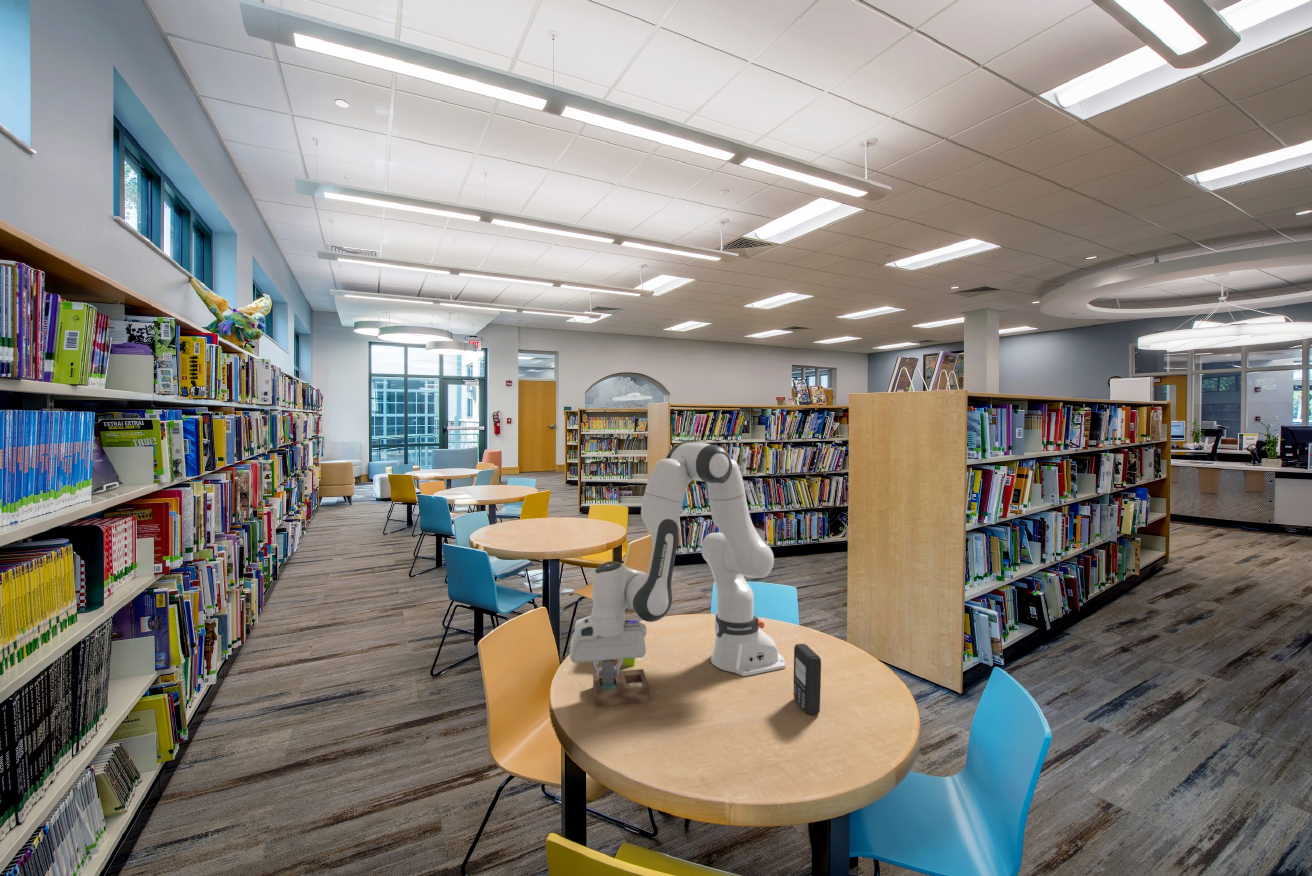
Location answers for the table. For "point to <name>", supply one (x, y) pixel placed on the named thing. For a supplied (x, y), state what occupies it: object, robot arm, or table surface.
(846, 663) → the table surface
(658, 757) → the table surface
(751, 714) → the table surface
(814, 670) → the card reader
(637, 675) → the socket block
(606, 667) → the plug
